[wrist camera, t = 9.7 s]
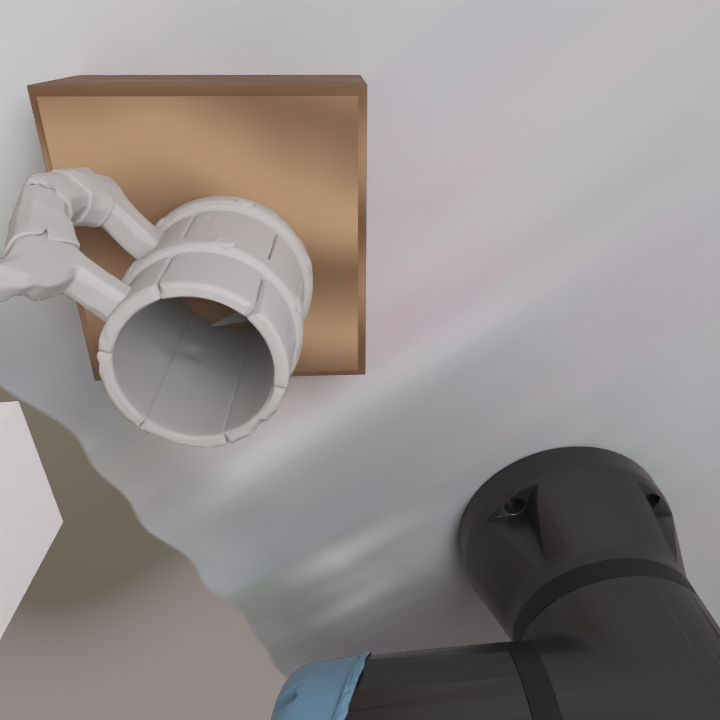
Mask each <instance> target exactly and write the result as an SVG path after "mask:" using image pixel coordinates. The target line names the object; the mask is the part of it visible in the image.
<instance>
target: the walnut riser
mask: <svg viewBox="0 0 720 720" xmlns="http://www.w3.org/2000/svg"><path fill="white" fill-rule="evenodd" d="M27 88H28V92H29V97H30V101H31V105H32V110H33V114H34V118H35V123H36V127H37V131H38V136H39V140H40V144H41V149H42V153H43V157H44V162H45V166H46V170H47V172H51V171H52V170H53V169H66V168H78V167H86V168H89V169H90V170H91V171H92V172H94V173H95V174H99V175H103V176H108V177H110V178H111V179H112V180H114V181H115V182H116V184H117V185H118V186H119V187H120V188H121V190H122V191H123V193H124V194H125V196H126V197H127V199H128V200H129V201H130V202H131V204H132V205H133V206H134V207H135V208H136V209H137V210H138V211H139V212H140V213H141V214H142V215H143V216H144V217H145V218H146V219H147V220H148V221H149V222H150V223H152V224H153V225H154V226H155V224H156V223H157V222H158V221H159V220H160V219H161V218H163V217H165V216H166V215H168V214H169V213H170V212H171V211H173V210H174V209H176V208H177V207H179V206H181V205H183V204H185V203H187V202H190V201H193V200H197V199H200V198H205V197H211V196H234V197H240V198H245V199H248V200H251V201H254V202H257V203H260V204H262V205H264V206H266V207H268V208H270V209H271V210H273V211H274V212H276V213H277V214H278V215H279V217H280V218H281V219H283V220H285V221H286V222H287V224H288V225H289V226H290V227H291V228H292V229H293V231H294V232H295V234H296V235H297V236H298V237H299V238H300V239H301V241H302V243H303V245H304V246H305V249H306V251H307V253H308V256H309V258H310V260H311V263H312V273H313V294H312V300H311V304H310V308H309V311H308V313H307V316H306V318H305V320H304V322H303V326H304V331H303V344H302V349H301V353H300V356H299V360H298V363H297V365H296V367H295V369H294V371H293V373H292V374H291V376H315V375H359V374H365V332H366V179H367V84H366V83H365V81H364V80H363V78H362V77H361V76H360V75H78V76H73V77H68V78H63V79H58V80H52V81H47V82H42V83H37V84H32V85H27ZM74 230H75V234H76V237H77V240H78V242H79V244H80V249H79V251H81V252H82V253H83V254H84V255H85V256H86V257H88V258H89V259H90V260H91V261H93V262H94V263H95V264H97V265H98V266H100V267H101V268H102V269H104V270H105V271H106V272H108V273H110V274H111V275H113V276H114V277H116V278H117V279H119V280H120V281H122V279H123V277H124V274H125V272H126V271H127V270H128V268H129V267H130V266H131V265H132V264H133V262H135V261H136V259H135V258H134V257H133V256H132V255H130V254H129V253H128V252H127V251H126V250H125V249H124V248H123V247H122V246H121V245H120V244H119V243H118V242H117V241H116V240H115V239H114V238H113V237H112V236H111V235H109V234H108V233H107V232H106V231H105V230H104V229H103V228H102V227H101V226H99V227H89V226H74ZM179 298H180V300H181V301H182V302H183V303H184V304H185V305H186V306H187V307H189V308H190V309H191V310H192V313H196V314H198V315H199V316H200V317H201V318H203V319H205V320H207V321H209V322H211V323H216V322H218V321H220V320H222V319H224V318H226V317H228V316H230V315H232V314H234V313H236V312H237V311H235V310H233V309H232V308H230V307H228V306H226V305H224V304H221V303H219V302H216V301H212V300H208V299H203V298H196V297H179ZM77 304H78V309H79V313H80V317H81V322H82V326H83V330H84V335H85V339H86V343H87V348H88V352H89V356H90V361H91V365H92V369H93V374H94V378H95V380H102V379H101V376H100V374H99V361H98V359H97V354H98V352H99V337H100V334H101V331H102V329H103V327H104V325H105V323H106V322H105V321H104V320H102V319H101V318H99V317H98V316H96V315H95V314H93V313H92V312H91V311H89V310H88V309H86V308H85V307H83V306H82V305H81V304H79V303H78V302H77ZM251 325H253V324H252V323H251V322H250V321H245V322H239V323H233V324H227V325H221V326H226V327H246V326H251ZM253 326H254V325H253Z"/></svg>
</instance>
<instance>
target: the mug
mask: <svg viewBox="0 0 720 720" xmlns="http://www.w3.org/2000/svg"><path fill="white" fill-rule="evenodd" d="M74 226H89V227H99V226H101V227H102V228H103V229H104V230H105V231H106V232H107V233H108V234H109V235H111V236H112V237H113V238H114V239H115V240H116V241H117V242H118V243H119V244H120V245H121V246H122V247H123V248H124V249H125V250H126V251H127V252H128V253H129V254H130V255H132V256H133V257H134V258H135V259H136V261H135V262H133V264H132V265H131V266H130V267H129V268H128V270H127V271H126V272H125V274H124V277H123V279H122V281H120V280H119V279H117V278H116V277H114V276H113V275H111V274H110V273H108V272H106V271H105V270H104V269H102V268H101V267H100V266H98V265H97V264H95V263H94V262H93V261H91V260H90V259H89V258H88V257H86V256H85V255H84V254H83V253H82V252H81V251H79V249H80V244H79V242H78V240H77V237H76V234H75V230H74ZM1 259H2V261H0V302H4V301H6V300H8V299H9V298H11V297H13V296H15V295H18V296H25V297H27V298H29V299H31V300H33V301H42V300H45V299H48V298H51V297H55V296H58V295H60V294H64V295H66V296H68V297H70V298H72V299H74V300H75V301H77V302H78V303H79V304H81V305H82V306H83V307H85V308H86V309H88V310H89V311H91V312H92V313H93V314H95V315H96V316H98V317H99V318H101V319H102V320H104V321H105V322H106V323H105V325H104V327H103V329H102V331H101V334H100V337H99V352H98V354H97V359H98V361H99V374H100V376H101V379H102V382H103V385H104V387H105V390H106V393H107V395H108V397H109V398H110V400H111V401H112V403H113V404H114V405H115V407H116V408H117V409H118V410H119V411H120V412H121V413H122V415H123V416H124V417H125V418H126V419H128V420H129V421H130V422H132V423H133V424H134V425H135V426H139V425H140V424H141V425H140V429H141V430H143V431H145V432H148V433H152V434H155V435H158V436H161V437H163V438H165V439H167V440H169V441H172V442H175V443H178V444H183V445H190V446H200V447H217V446H222V445H226V444H227V441H229V442H230V443H233V442H235V441H237V440H239V439H241V438H244V437H247V436H249V435H251V434H252V433H253V432H254V430H255V429H256V427H257V426H258V425H259V424H260V423H261V422H263V421H267V420H269V419H270V418H271V417H272V416H273V415H274V413H275V412H276V411H277V409H278V408H279V406H280V405H281V403H282V401H283V399H284V397H285V394H286V390H287V386H288V383H289V378H290V376H291V374H292V373H293V371H294V369H295V367H296V365H297V363H298V360H299V356H300V353H301V349H302V344H303V331H304V326H303V322H304V320H305V318H306V316H307V313H308V311H309V308H310V304H311V300H312V294H313V273H312V263H311V260H310V258H309V256H308V253H307V251H306V249H305V246H304V245H303V243H302V241H301V239H300V238H299V237H298V236H297V235H296V234H295V232H294V231H293V229H292V228H291V227H290V226H289V225H288V224H287V222H286V221H285V220H283V219H281V218H280V217H279V215H278V214H277V213H276V212H274V211H273V210H271V209H270V208H268V207H266V206H264V205H262V204H260V203H257V202H254V201H251V200H248V199H245V198H240V197H234V196H211V197H205V198H200V199H197V200H193V201H190V202H187V203H185V204H183V205H181V206H179V207H177V208H176V209H174V210H173V211H171V212H170V213H169V214H168V215H166V216H165V217H163V218H161V219H160V220H159V221H158V222H157V223H156V224H155V226H154V225H153V224H152V223H150V222H149V221H148V220H147V219H146V218H145V217H144V216H143V215H142V214H141V213H140V212H139V211H138V210H137V209H136V208H135V207H134V206H133V205H132V204H131V202H130V201H129V200H128V199H127V197H126V196H125V194H124V193H123V191H122V190H121V188H120V187H119V186H118V185H117V184H116V182H115V181H114V180H112V179H111V178H110V177H108V176H103V175H99V174H95V173H94V172H92V171H91V170H90V169H89V168H86V167H78V168H66V169H53V170H52V171H51V172H40V173H34V174H31V175H29V176H28V177H27V179H26V181H25V184H24V186H23V188H22V191H21V193H20V195H19V198H18V202H17V204H16V207H15V209H14V212H13V216H12V218H11V220H10V222H9V230H8V236H7V241H6V245H5V248H4V251H3V253H2V255H1ZM179 297H196V298H203V299H208V300H212V301H216V302H219V303H221V304H224V305H226V306H228V307H230V308H232V309H233V310H235V311H237V312H236V313H234V314H232V315H230V316H228V317H226V318H224V319H222V320H220V321H218V322H216V323H211V322H209V321H207V320H205V319H203V318H201V317H200V316H199V315H198V314H196V313H192V310H191V309H190V308H189V307H187V306H186V305H185V304H184V303H183V302H182V301H181V300H180V298H179ZM245 321H250V322H251V323H252V324H253V325H254V326H253V325H251V326H246V327H226V326H221V325H227V324H233V323H239V322H245Z"/></svg>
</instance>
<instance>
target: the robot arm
mask: <svg viewBox="0 0 720 720" xmlns="http://www.w3.org/2000/svg"><path fill="white" fill-rule="evenodd" d="M62 523H63V520H62V518H61V515H60V512H59V510H58V507H57V504H56V501H55V499H54V496H53V493H52V491H51V488H50V485H49V483H48V480H47V477H46V474H45V472H44V469H43V466H42V464H41V461H40V458H39V456H38V453H37V450H36V448H35V445H34V442H33V439H32V437H31V434H30V431H29V428H28V426H27V423H26V420H25V418H24V415H23V412H22V409H21V407H20V404H19V402H18V401H15V402H0V639H1V637H2V635H3V633H4V631H5V629H6V627H7V625H8V624H9V622H10V620H11V618H12V616H13V614H14V613H15V611H16V609H17V607H18V605H19V603H20V601H21V599H22V597H23V596H24V594H25V592H26V590H27V588H28V586H29V585H30V583H31V581H32V579H33V577H34V575H35V573H36V572H37V570H38V568H39V566H40V564H41V562H42V560H43V558H44V557H45V555H46V553H47V551H48V549H49V547H50V545H51V544H52V542H53V540H54V538H55V536H56V534H57V532H58V530H59V528H60V527H61V525H62ZM459 544H460V550H461V554H462V558H463V561H464V565H465V569H466V573H467V575H468V578H469V580H470V582H471V584H472V586H473V588H474V589H475V591H476V592H477V594H478V595H479V596H480V598H481V599H482V600H483V602H484V603H485V605H486V606H487V607H488V609H489V610H490V611H491V613H492V614H493V615H494V617H495V618H496V620H497V621H498V622H499V624H500V625H501V626H502V628H503V629H504V630H505V632H506V633H507V635H508V636H509V637H510V639H511V640H512V642H504V643H502V642H500V643H489V644H479V645H469V646H458V647H448V648H438V649H427V650H417V651H407V652H396V653H386V654H376V655H371V652H370V651H363V652H361V653H360V654H359V655H358V656H355V657H348V658H341V659H335V660H328V661H322V662H315V663H310V664H307V665H305V666H303V667H301V668H299V669H298V670H296V671H295V672H294V673H293V674H292V675H291V676H290V677H289V678H288V680H287V681H286V682H285V684H284V686H283V687H282V689H281V691H280V694H279V696H278V699H277V701H276V704H275V708H274V710H273V714H272V718H271V720H720V628H719V626H718V625H717V623H716V622H715V620H714V619H713V617H712V616H711V614H710V613H709V611H708V610H707V608H706V607H705V605H704V604H703V602H702V601H701V599H700V598H699V596H698V595H697V593H696V592H695V590H694V589H693V587H692V586H691V584H690V582H689V581H688V579H687V577H686V574H685V569H684V565H683V560H682V556H681V551H680V547H679V542H678V538H677V533H676V529H675V524H674V519H673V515H672V512H671V509H670V507H669V505H668V503H667V501H666V499H665V497H664V495H663V494H662V492H661V491H660V490H659V488H658V487H657V485H656V484H655V483H654V481H653V480H652V478H651V477H650V476H649V475H648V473H647V472H646V471H645V470H644V469H643V468H642V467H641V466H639V465H638V464H637V463H635V462H634V461H632V460H631V459H629V458H627V457H625V456H623V455H621V454H618V453H615V452H612V451H609V450H604V449H599V448H592V447H568V448H559V449H554V450H549V451H545V452H541V453H538V454H535V455H532V456H529V457H527V458H525V459H522V460H520V461H518V462H516V463H514V464H512V465H510V466H509V467H507V468H505V469H504V470H502V471H501V472H499V473H498V474H497V475H495V476H494V477H493V478H492V479H490V480H489V481H488V482H487V483H486V484H485V485H484V486H483V487H482V488H481V489H480V490H479V491H478V493H477V494H476V495H475V496H474V498H473V499H472V501H471V502H470V504H469V506H468V507H467V509H466V511H465V514H464V516H463V519H462V522H461V526H460V532H459Z"/></svg>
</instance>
